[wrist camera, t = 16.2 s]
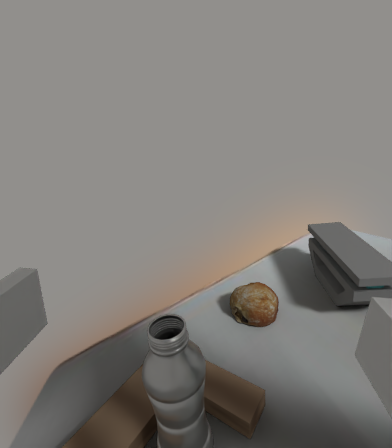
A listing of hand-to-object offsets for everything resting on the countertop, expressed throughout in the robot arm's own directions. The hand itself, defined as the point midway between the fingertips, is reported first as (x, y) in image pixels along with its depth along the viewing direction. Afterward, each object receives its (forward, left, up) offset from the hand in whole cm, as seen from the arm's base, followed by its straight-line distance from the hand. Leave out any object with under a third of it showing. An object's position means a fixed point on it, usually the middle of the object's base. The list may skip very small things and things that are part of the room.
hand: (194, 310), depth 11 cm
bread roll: (-35, -13, -31) cm, 49 cm away
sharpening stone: (-51, +1, -31) cm, 60 cm away
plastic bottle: (-7, -10, -31) cm, 33 cm away
